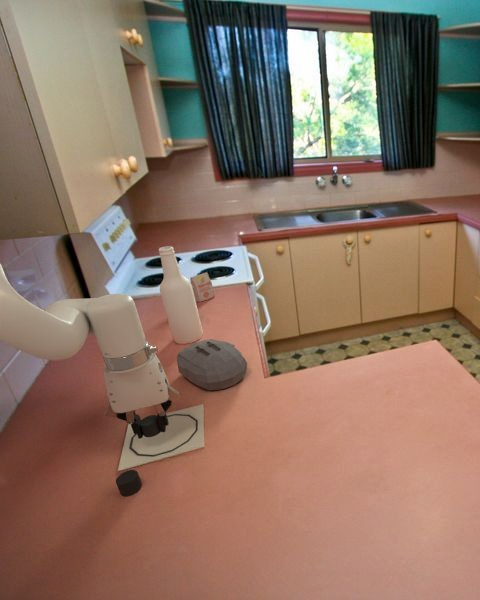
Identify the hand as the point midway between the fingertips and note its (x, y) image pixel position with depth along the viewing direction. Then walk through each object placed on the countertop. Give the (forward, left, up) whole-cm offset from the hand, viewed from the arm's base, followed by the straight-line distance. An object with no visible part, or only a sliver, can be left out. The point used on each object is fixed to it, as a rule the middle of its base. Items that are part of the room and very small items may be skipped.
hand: (152, 430), depth 90 cm
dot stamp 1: (-4, -11, -4) cm, 12 cm away
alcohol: (+5, +51, -4) cm, 51 cm away
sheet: (+1, +3, -4) cm, 5 cm away
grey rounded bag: (+13, +24, -4) cm, 27 cm away
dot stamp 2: (0, 0, 0) cm, 0 cm away
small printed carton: (+10, +84, -4) cm, 85 cm away
